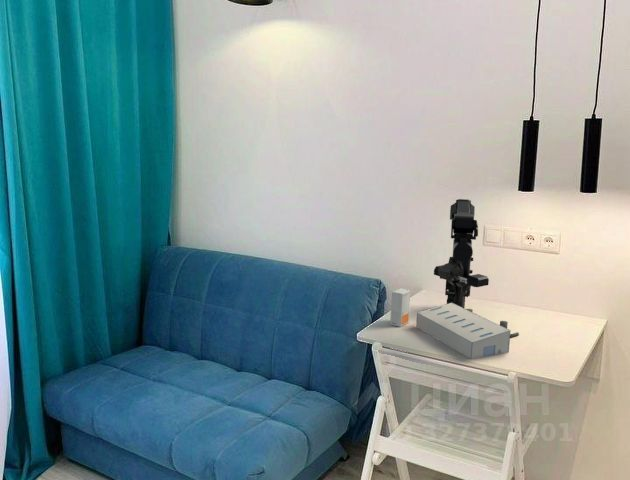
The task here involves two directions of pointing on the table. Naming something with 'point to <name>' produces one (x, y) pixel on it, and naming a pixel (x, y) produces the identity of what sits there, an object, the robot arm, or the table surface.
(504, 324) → the cord posts
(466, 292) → the robot arm
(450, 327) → the grey slotted box
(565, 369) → the table surface
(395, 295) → the skincare box
